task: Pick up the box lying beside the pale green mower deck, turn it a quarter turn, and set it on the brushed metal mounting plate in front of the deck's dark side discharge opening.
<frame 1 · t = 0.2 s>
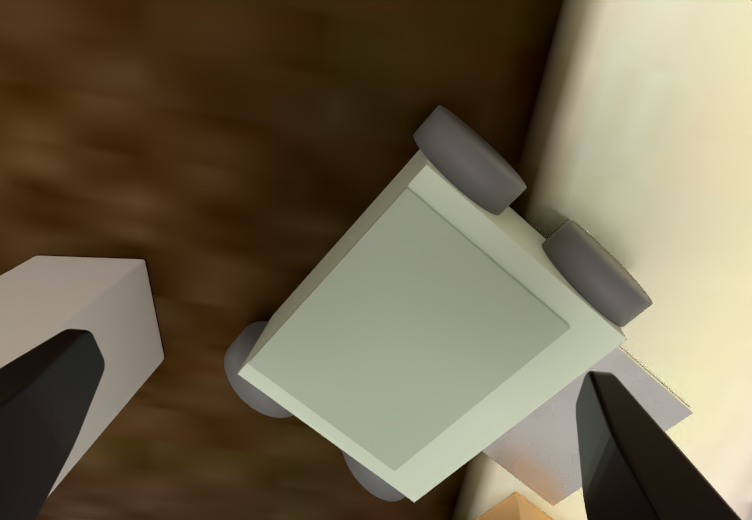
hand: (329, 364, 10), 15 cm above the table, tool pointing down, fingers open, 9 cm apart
mounting plate: (559, 410, 28), on the table
mower deck: (424, 299, 26), on the table
milk: (105, 306, 29), on the table
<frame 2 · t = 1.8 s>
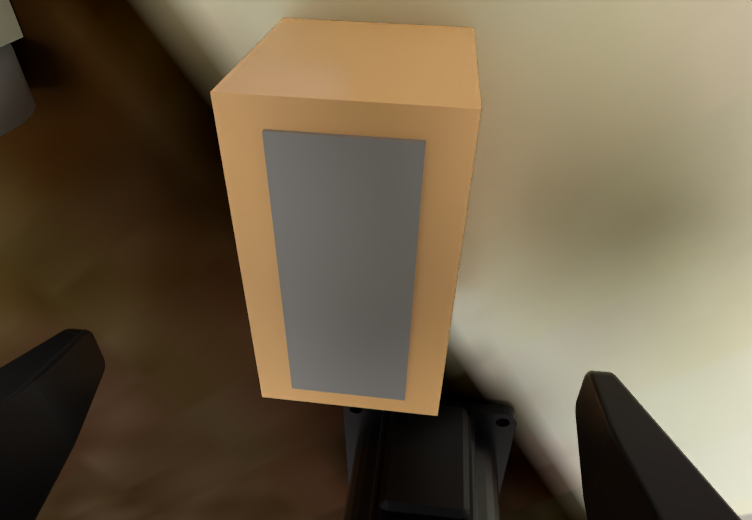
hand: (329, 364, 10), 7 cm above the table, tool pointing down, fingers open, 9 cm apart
box: (374, 172, 15), on the table
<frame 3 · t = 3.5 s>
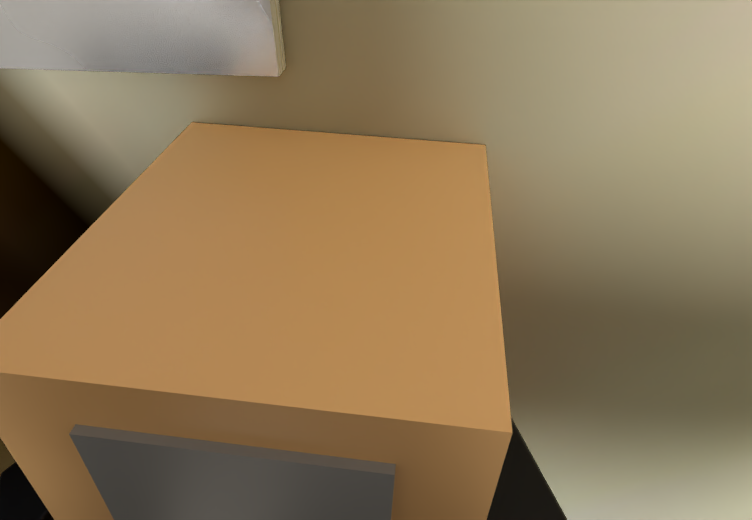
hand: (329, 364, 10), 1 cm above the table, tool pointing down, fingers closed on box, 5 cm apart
box: (339, 324, 11), on the table, touching gripper
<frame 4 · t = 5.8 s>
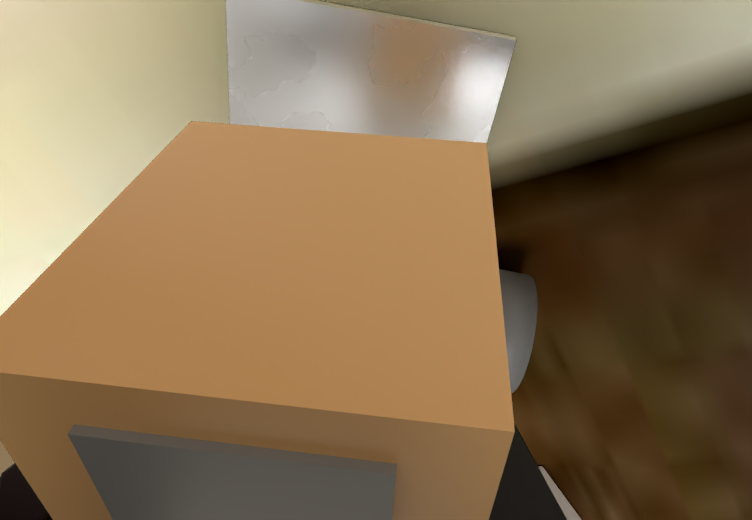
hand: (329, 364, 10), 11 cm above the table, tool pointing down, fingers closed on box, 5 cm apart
mounting plate: (356, 136, 19), on the table
mower deck: (333, 319, 25), on the table
box: (339, 324, 11), point 10 cm above the table, touching gripper
milk: (513, 498, 32), on the table
when the fingers open (3 cm above the table, at t = 8.3 s): box drops 1 cm, resting on mounting plate.
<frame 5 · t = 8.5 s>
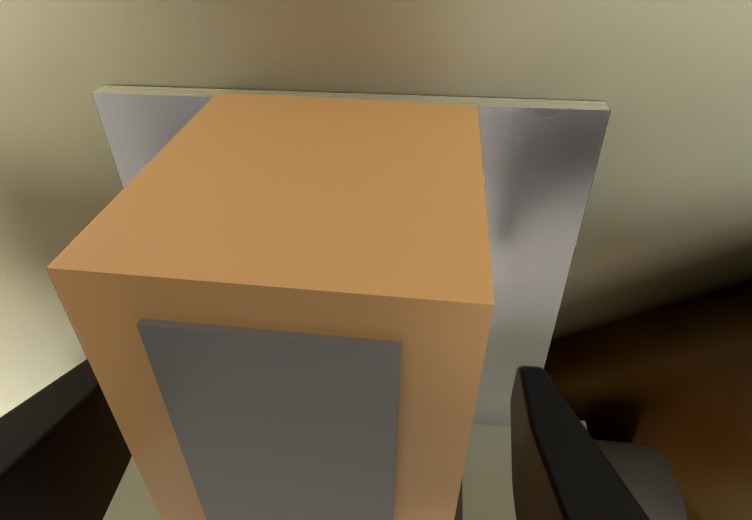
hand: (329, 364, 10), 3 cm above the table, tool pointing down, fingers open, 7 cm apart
mounting plate: (351, 279, 12), on the table
mower deck: (362, 498, 18), on the table
box: (349, 280, 12), resting on mounting plate
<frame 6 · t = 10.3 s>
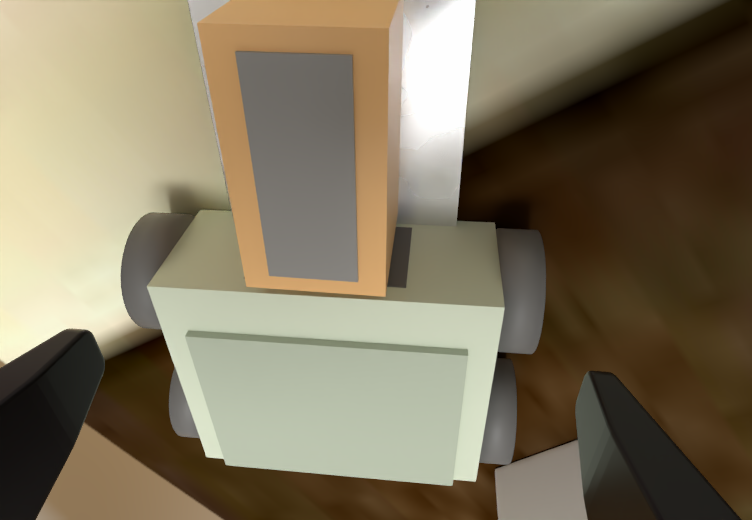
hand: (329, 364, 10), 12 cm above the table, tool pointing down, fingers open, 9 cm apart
mounting plate: (337, 114, 19), on the table
mower deck: (349, 308, 25), on the table
box: (335, 110, 19), resting on mounting plate
milk: (567, 475, 31), on the table
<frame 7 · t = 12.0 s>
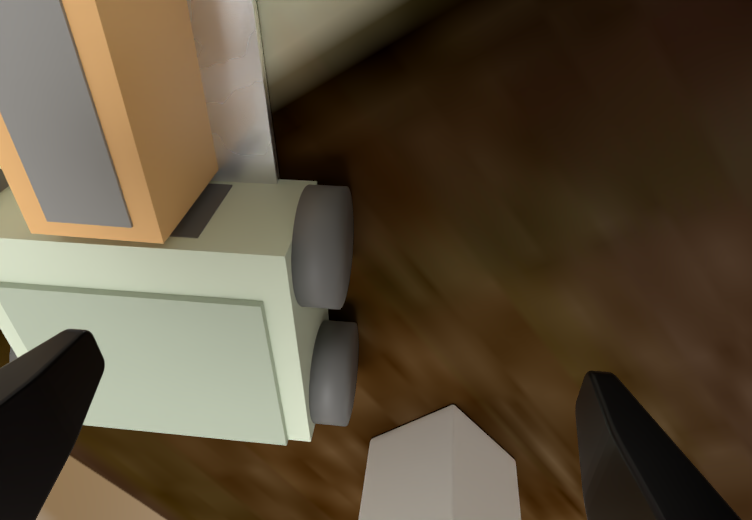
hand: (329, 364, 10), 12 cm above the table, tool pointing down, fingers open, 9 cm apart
mounting plate: (143, 67, 19), on the table
mower deck: (197, 270, 25), on the table
box: (137, 63, 19), resting on mounting plate
milk: (442, 445, 31), on the table
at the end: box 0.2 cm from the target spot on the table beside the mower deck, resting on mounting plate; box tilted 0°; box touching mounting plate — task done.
